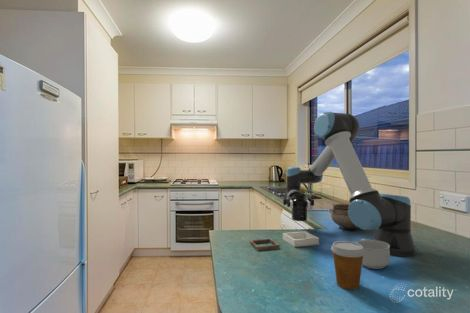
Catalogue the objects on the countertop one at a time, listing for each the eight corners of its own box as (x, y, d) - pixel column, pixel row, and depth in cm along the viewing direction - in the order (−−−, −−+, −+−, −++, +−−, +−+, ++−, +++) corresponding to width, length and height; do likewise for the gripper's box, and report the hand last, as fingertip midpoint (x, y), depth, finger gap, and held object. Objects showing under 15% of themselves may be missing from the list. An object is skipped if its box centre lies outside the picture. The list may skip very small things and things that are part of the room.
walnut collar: (279, 248, 119) (279, 245, 119) (257, 250, 116) (257, 247, 116) (270, 241, 129) (270, 238, 129) (249, 243, 126) (249, 240, 126)
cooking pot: (380, 229, 149) (380, 207, 149) (363, 236, 137) (363, 211, 137) (337, 221, 168) (337, 201, 168) (319, 226, 156) (319, 205, 156)
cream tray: (319, 244, 124) (319, 238, 124) (294, 247, 121) (294, 240, 121) (305, 237, 135) (305, 231, 135) (282, 239, 132) (282, 233, 132)
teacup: (394, 273, 93) (394, 249, 93) (360, 270, 95) (360, 247, 96) (381, 258, 107) (381, 237, 107) (351, 256, 109) (351, 236, 109)
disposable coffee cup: (371, 291, 80) (371, 249, 80) (339, 293, 80) (339, 250, 80) (354, 277, 90) (354, 240, 90) (326, 278, 89) (325, 241, 89)
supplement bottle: (289, 218, 131) (289, 192, 131) (304, 217, 132) (303, 192, 132) (294, 221, 124) (294, 194, 124) (309, 221, 125) (309, 194, 125)
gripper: (314, 205, 145) (323, 214, 122) (276, 204, 147) (278, 213, 124) (314, 190, 145) (323, 196, 122) (276, 190, 147) (277, 196, 124)
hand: (300, 205), depth 123 cm, fingers closed on supplement bottle, 7 cm apart
